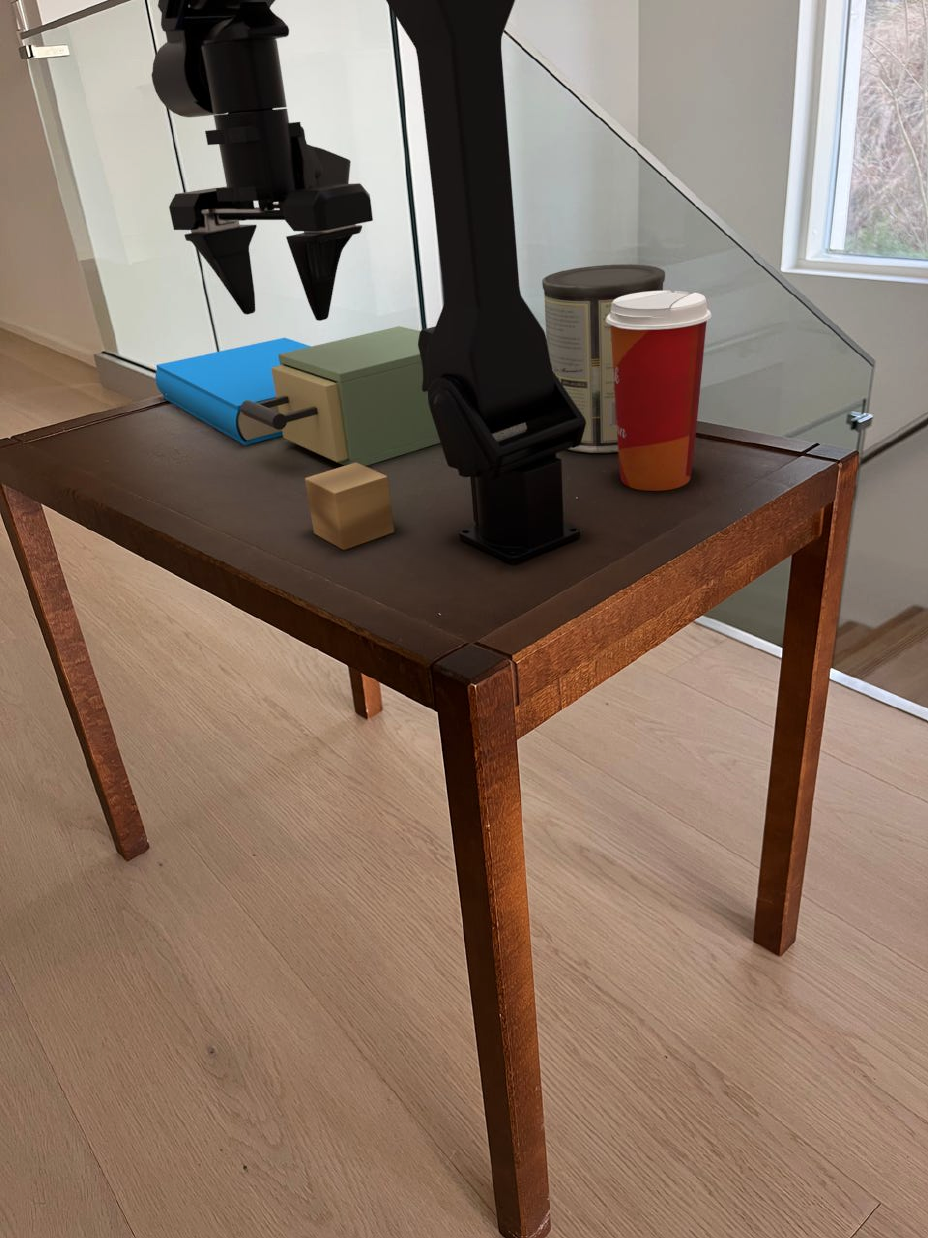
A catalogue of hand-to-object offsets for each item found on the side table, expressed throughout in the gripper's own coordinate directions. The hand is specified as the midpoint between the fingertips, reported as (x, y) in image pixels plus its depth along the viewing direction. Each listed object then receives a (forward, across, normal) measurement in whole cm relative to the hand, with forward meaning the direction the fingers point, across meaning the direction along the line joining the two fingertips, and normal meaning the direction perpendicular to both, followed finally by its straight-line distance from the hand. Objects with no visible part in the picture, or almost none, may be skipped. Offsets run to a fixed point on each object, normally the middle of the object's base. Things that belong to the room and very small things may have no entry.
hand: (284, 316), depth 82 cm
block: (+13, -16, +10) cm, 23 cm away
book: (+13, +18, -12) cm, 25 cm away
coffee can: (+13, -21, -17) cm, 30 cm away
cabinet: (+13, -2, -8) cm, 15 cm away
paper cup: (+13, -31, -9) cm, 35 cm away
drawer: (+12, -1, -4) cm, 13 cm away
